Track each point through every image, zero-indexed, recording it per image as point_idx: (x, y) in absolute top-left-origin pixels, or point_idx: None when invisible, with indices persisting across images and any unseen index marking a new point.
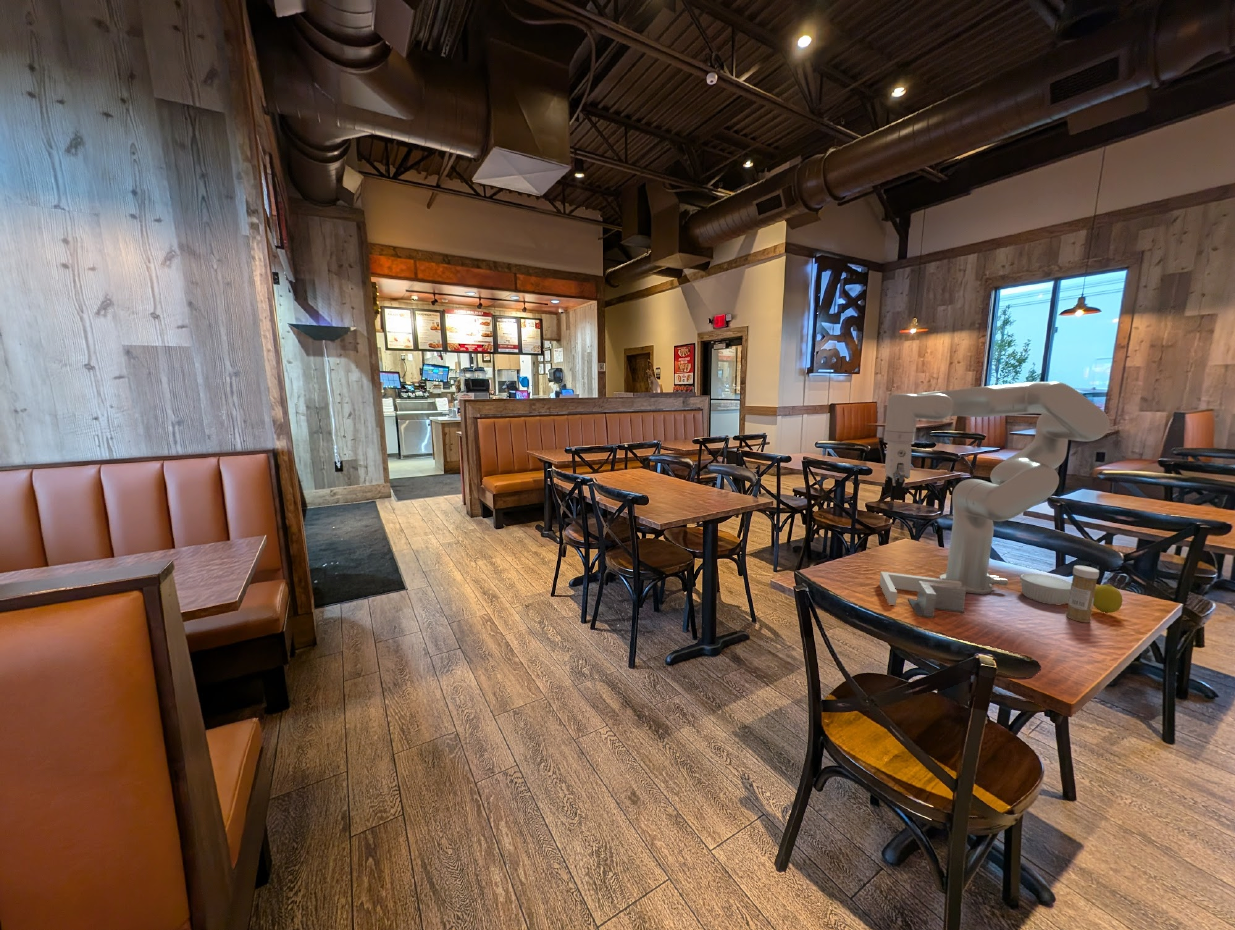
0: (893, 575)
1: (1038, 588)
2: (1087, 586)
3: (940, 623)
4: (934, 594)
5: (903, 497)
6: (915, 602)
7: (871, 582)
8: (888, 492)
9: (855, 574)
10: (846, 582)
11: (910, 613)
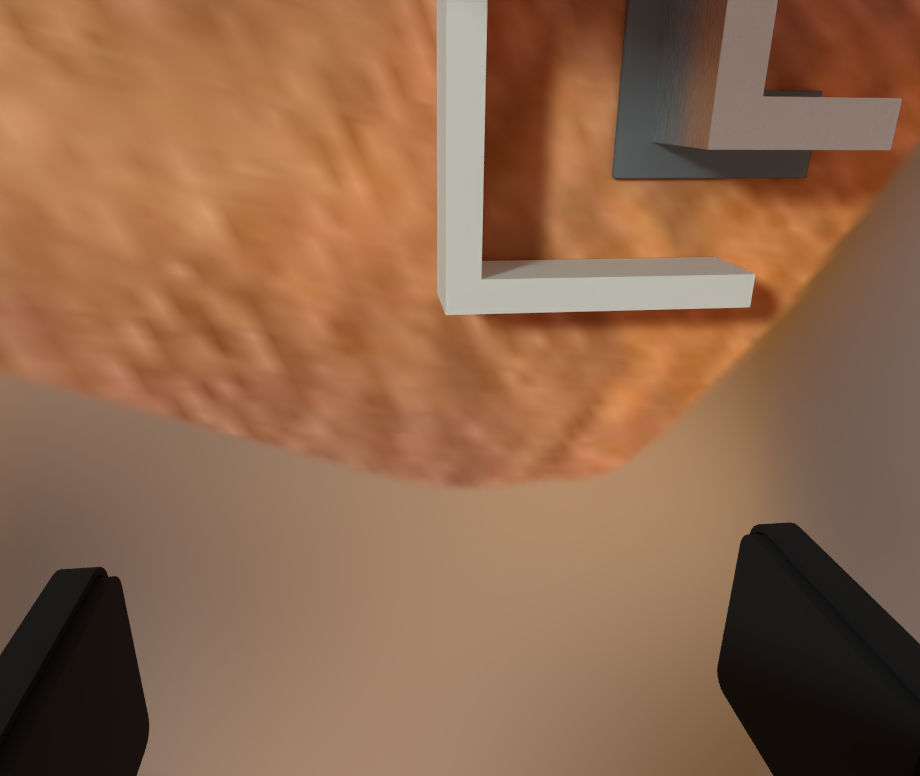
0: (480, 247)
1: None
2: None
3: (867, 80)
4: (897, 107)
5: (820, 550)
6: (659, 149)
7: (420, 331)
8: (139, 683)
9: (324, 402)
10: (471, 451)
11: (781, 201)
